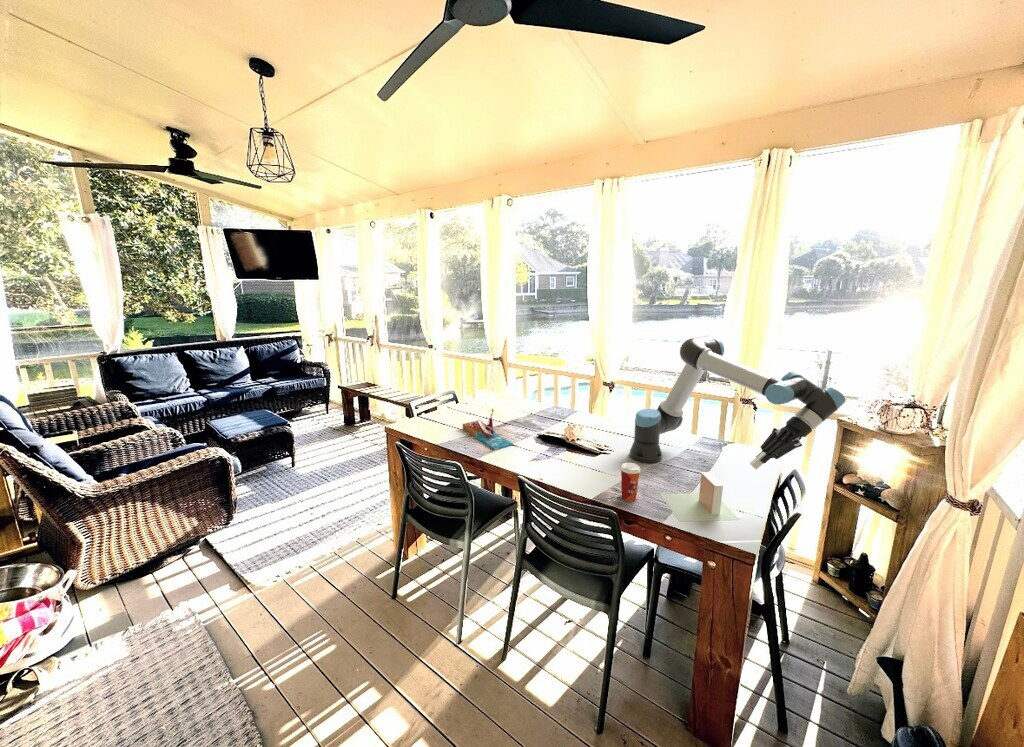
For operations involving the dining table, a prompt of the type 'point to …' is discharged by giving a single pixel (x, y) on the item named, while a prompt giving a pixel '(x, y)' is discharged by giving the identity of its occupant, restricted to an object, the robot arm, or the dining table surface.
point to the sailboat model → (486, 434)
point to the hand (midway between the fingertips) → (752, 466)
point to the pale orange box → (710, 493)
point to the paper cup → (629, 481)
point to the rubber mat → (694, 508)
